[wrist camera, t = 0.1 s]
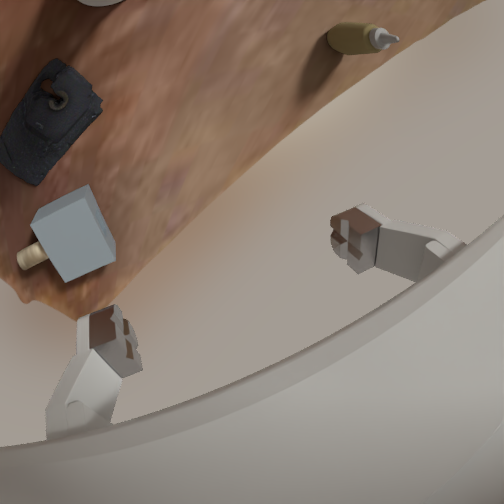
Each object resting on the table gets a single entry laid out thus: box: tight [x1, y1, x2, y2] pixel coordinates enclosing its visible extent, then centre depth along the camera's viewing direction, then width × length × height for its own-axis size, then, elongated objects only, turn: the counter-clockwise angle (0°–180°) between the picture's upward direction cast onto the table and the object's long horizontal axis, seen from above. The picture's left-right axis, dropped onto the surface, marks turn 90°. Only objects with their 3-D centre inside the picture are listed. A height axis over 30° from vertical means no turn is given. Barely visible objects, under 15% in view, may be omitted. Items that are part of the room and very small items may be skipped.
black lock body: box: [0, 59, 103, 186], centre depth 37 cm, size 15×22×5 cm
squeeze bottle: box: [327, 22, 399, 55], centre depth 44 cm, size 8×8×18 cm
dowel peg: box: [17, 241, 49, 270], centre depth 47 cm, size 4×12×4 cm, turn 101°
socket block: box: [30, 184, 116, 283], centre depth 49 cm, size 14×12×7 cm
